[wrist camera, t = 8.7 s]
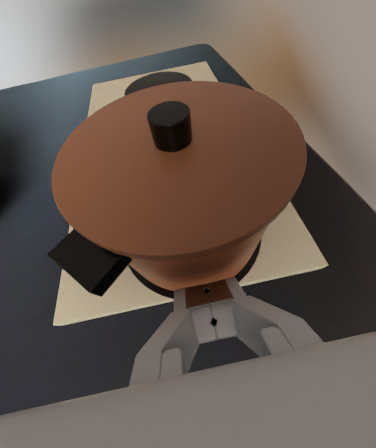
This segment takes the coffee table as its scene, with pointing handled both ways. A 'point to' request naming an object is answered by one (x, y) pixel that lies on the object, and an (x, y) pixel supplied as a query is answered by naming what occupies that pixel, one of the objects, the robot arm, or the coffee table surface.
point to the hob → (144, 297)
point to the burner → (156, 80)
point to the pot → (174, 184)
